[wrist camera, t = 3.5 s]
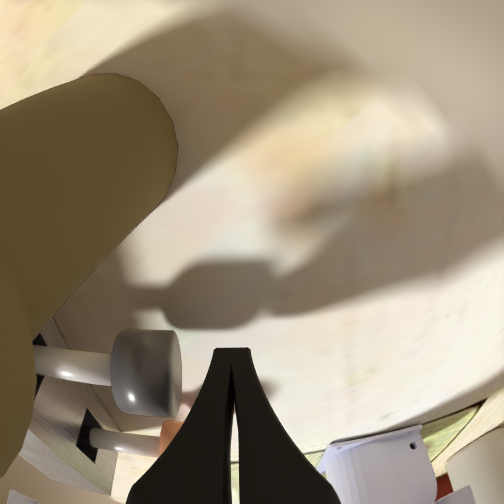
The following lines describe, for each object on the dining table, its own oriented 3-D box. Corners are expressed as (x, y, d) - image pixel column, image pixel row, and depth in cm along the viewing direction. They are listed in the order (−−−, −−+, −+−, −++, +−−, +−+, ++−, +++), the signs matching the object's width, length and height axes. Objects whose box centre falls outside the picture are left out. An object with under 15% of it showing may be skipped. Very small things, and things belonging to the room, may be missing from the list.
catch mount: (20, 234, 11) (-56, 318, 6) (122, 432, 20) (110, 495, 15) (-41, 239, 11) (-104, 304, 6) (67, 422, 20) (51, 479, 15)
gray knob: (172, 312, 12) (156, 384, 9) (184, 367, 14) (177, 432, 11) (35, 305, 12) (1, 360, 9) (61, 357, 14) (39, 410, 10)
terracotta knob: (196, 411, 16) (193, 466, 13) (204, 436, 18) (202, 483, 15) (90, 401, 16) (76, 448, 13) (109, 427, 18) (99, 469, 15)
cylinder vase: (439, 460, 33) (471, 578, 12) (504, 418, 29) (548, 535, 8) (449, 466, 38) (476, 563, 17) (503, 432, 35) (538, 528, 13)
